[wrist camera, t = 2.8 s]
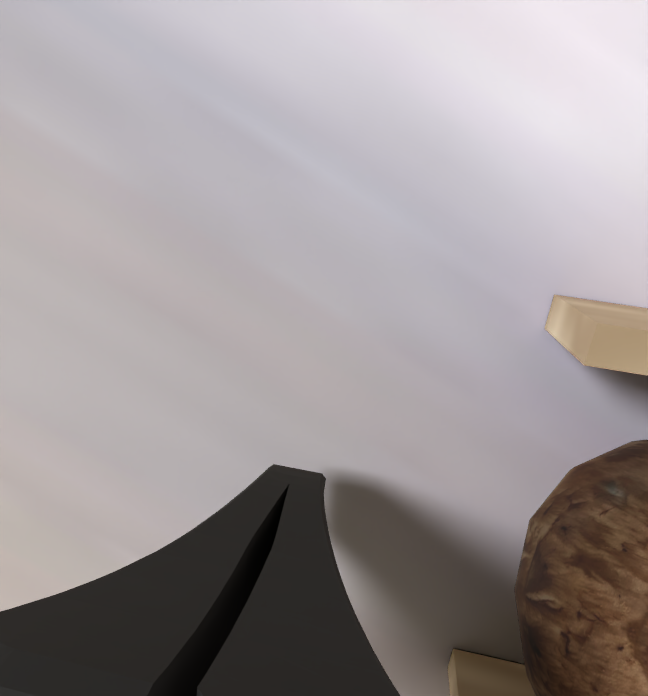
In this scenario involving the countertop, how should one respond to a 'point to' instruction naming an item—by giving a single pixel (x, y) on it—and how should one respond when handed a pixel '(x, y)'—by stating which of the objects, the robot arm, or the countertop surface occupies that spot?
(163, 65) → the countertop surface
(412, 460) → the countertop surface
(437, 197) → the countertop surface
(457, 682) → the guide fence
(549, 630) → the mushroom
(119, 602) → the robot arm
